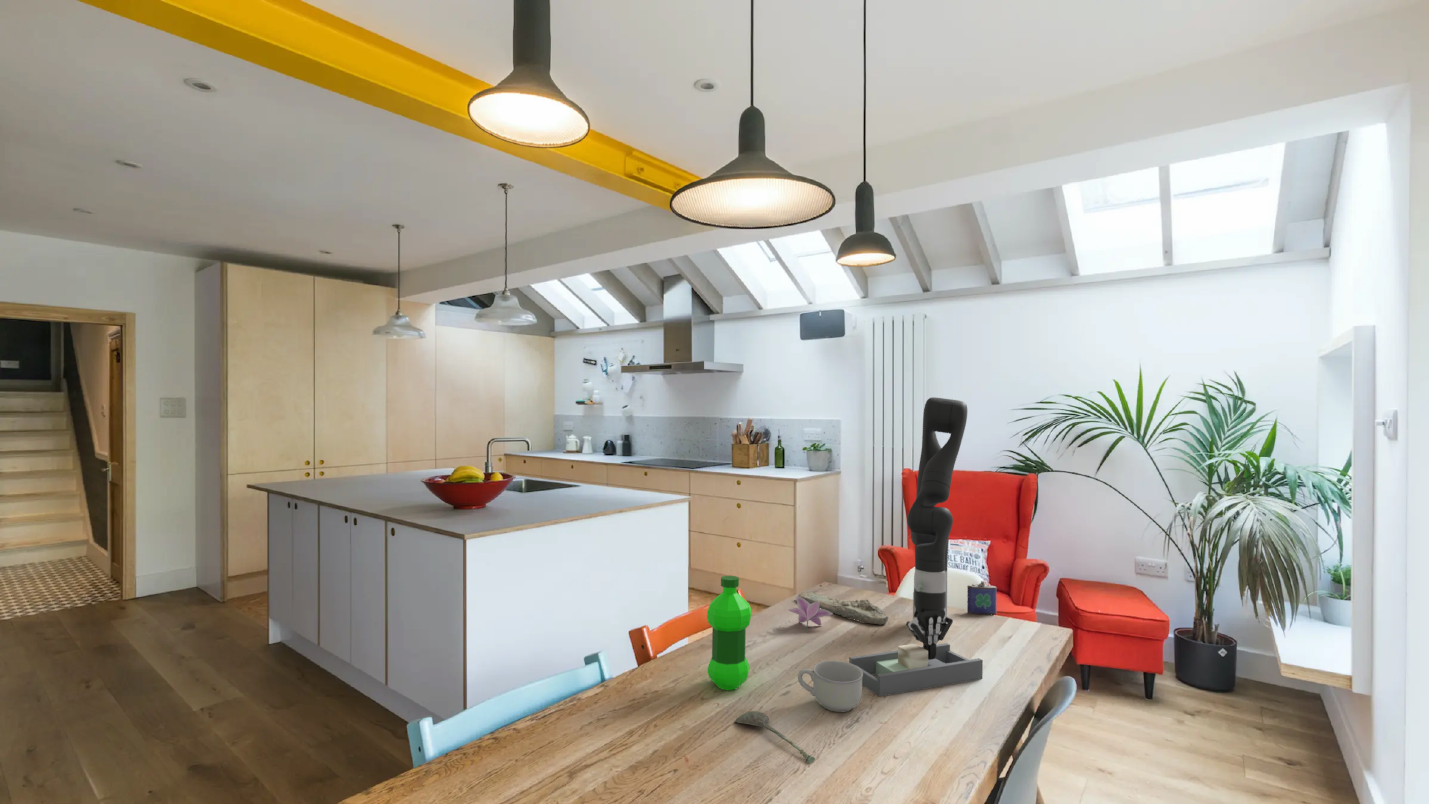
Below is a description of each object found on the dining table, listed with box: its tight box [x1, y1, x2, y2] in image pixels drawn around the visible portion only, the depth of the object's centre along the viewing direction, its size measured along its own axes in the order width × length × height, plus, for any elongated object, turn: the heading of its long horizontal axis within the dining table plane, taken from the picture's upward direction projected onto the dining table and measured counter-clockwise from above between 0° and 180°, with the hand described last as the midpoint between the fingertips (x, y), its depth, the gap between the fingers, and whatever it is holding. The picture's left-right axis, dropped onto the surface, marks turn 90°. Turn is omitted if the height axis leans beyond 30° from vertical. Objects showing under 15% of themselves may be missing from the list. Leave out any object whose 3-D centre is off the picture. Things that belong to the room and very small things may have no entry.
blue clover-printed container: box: [966, 580, 998, 616], centre depth 213 cm, size 9×3×11 cm, turn 88°
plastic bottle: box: [706, 575, 752, 691], centre depth 153 cm, size 10×10×25 cm
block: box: [897, 643, 928, 669], centre depth 160 cm, size 5×5×4 cm
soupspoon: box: [734, 710, 816, 764], centre depth 129 cm, size 22×3×7 cm
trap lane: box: [848, 643, 984, 697], centre depth 160 cm, size 12×30×4 cm, turn 112°
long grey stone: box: [798, 591, 889, 625], centre depth 213 cm, size 35×5×10 cm
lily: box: [788, 595, 834, 633], centre depth 195 cm, size 12×12×10 cm
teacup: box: [797, 659, 863, 713], centre depth 144 cm, size 14×11×8 cm
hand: (929, 658), depth 161 cm, fingers closed
